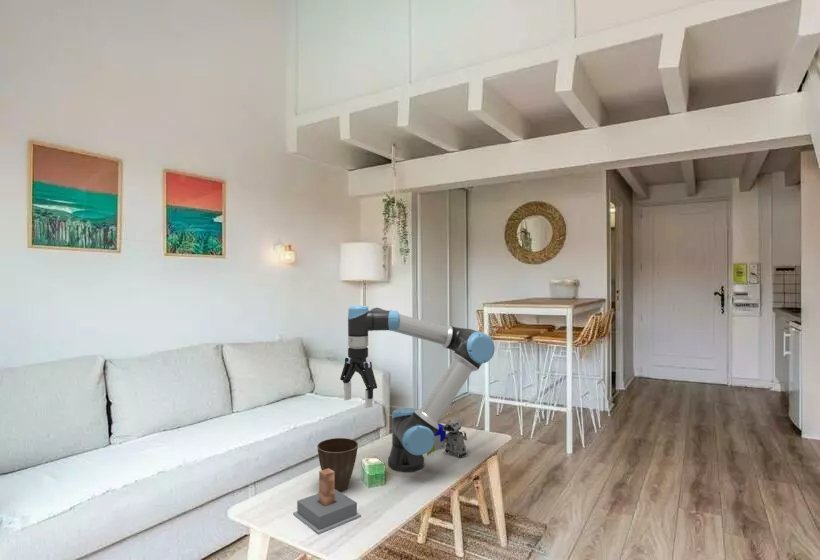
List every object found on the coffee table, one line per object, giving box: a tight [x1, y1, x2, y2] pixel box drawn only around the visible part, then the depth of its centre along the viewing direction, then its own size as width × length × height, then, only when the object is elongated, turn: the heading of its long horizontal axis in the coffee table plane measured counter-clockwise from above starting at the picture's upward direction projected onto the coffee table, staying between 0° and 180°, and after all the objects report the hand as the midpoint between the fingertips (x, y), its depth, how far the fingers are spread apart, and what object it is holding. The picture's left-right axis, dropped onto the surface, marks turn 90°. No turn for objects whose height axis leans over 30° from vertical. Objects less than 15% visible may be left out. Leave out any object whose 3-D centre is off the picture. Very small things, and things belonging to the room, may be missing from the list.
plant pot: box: [317, 437, 359, 492], centre depth 177 cm, size 15×15×16 cm
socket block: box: [292, 489, 362, 535], centre depth 157 cm, size 16×16×5 cm
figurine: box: [442, 419, 468, 459], centre depth 209 cm, size 9×12×15 cm
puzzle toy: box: [430, 422, 447, 453], centre depth 219 cm, size 10×10×10 cm
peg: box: [318, 468, 335, 506], centre depth 157 cm, size 4×4×14 cm
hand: (358, 403), depth 179 cm, fingers open, 13 cm apart
